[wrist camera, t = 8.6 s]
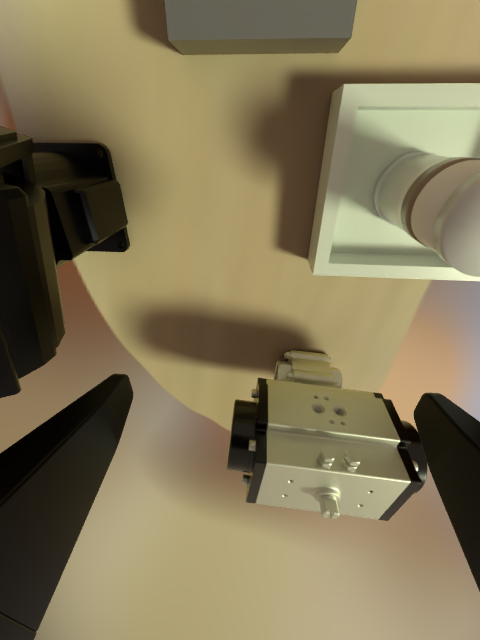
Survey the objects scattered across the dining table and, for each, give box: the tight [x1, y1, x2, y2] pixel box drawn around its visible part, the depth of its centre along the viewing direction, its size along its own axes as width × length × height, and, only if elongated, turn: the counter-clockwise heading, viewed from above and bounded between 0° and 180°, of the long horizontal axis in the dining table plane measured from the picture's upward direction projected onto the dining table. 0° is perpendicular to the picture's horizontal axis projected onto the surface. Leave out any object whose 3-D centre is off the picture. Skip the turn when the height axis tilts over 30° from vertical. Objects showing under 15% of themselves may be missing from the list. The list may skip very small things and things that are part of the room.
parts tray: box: [308, 83, 480, 281], centre depth 16 cm, size 10×9×3 cm
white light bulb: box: [372, 152, 480, 277], centre depth 13 cm, size 4×4×8 cm
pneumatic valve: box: [227, 350, 427, 521], centre depth 20 cm, size 6×12×12 cm, turn 84°
